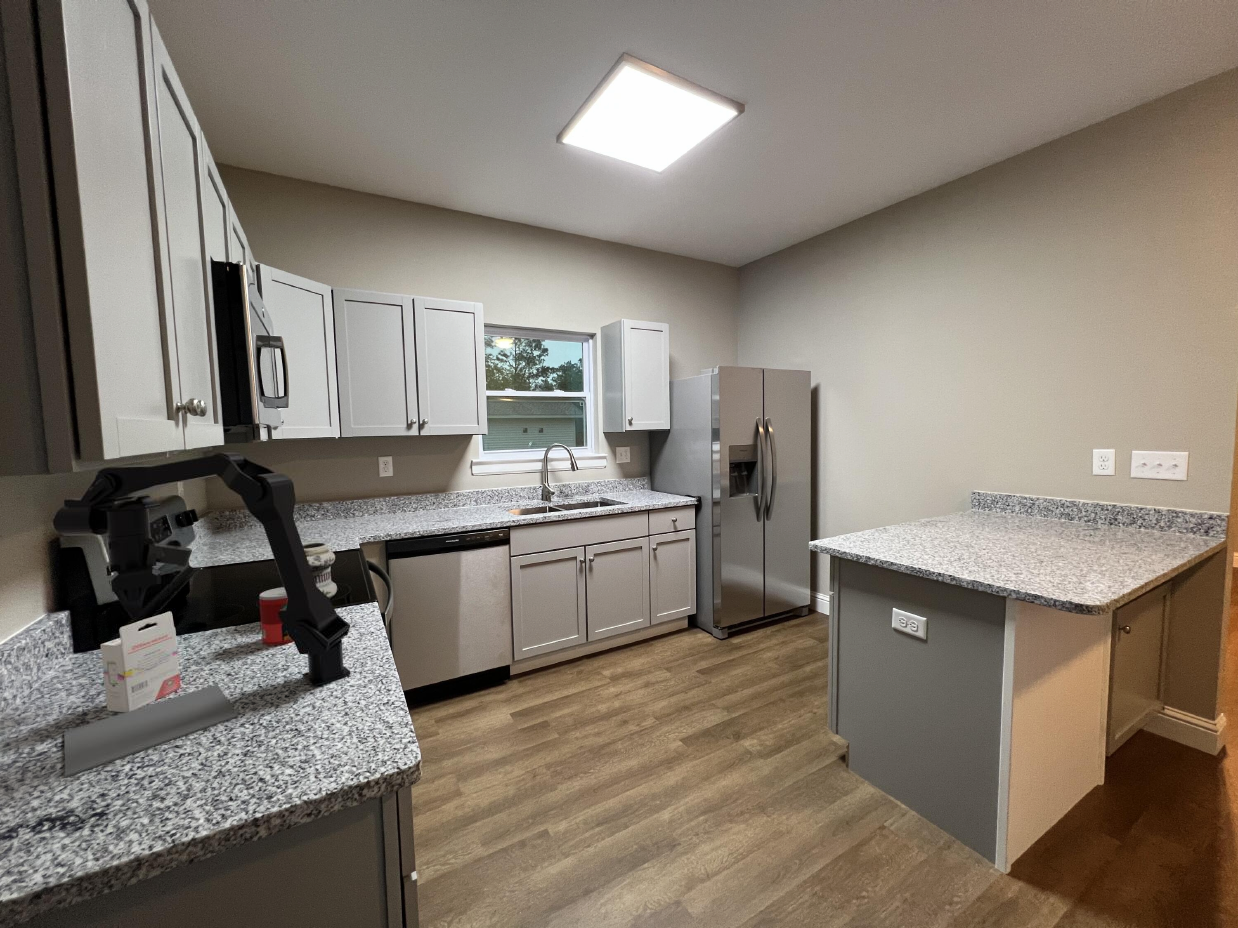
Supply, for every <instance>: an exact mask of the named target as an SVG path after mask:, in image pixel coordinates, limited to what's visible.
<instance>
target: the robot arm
mask: <svg viewBox="0 0 1238 928" xmlns="http://www.w3.org/2000/svg"><path fill="white" fill-rule="evenodd" d="M215 476H217V477H218V478H220V479H221V480H222V481H223V483H224V484H225V486H226V487H227V488H228V489H229V490H231V491H233V492H234V493H235V494H237V495H238V496H240V498H241V500H242V502H243V503H244V506H245V507H246V509H247V511H248V513H250V515H252V516H253V518H255V519H256V520H257V521H258V522H259V523H260V524H261V525H262V526H263V529H264V532H265V535H266V538H267V541H268V544H269V547H270V550H271V552H272V556H273V558H274V562H275V564H276V567H277V570H278V574H279V577H280V579H281V582H282V585H283V586H282V587H284V589H285V591H286V594H287V605H286V607H285V608H284V609H282V610H280V611H279V612H278V616H279V618H280V620H281V622H282V624H283V633H285V632H287V634H288V636H289V638H290V639H291V640H292V641H293V643H294V645H295V647H296V649H297V652H298V653H299V655H306V656H307V662H308V663H307V664H308V672H304V673H302V678H303V679H304V680H305V681H306V682H307V683H308V684H309V685H310V686H311V687H312V688H315V687H318V686H322V685H324V684H327V683H330V682H332V681H335V680H338V679H341V678H343V677H346V676H349V675H351V674H352V673H351V670H349V668H347V667H346V666H344V657H343V656H344V653H343V639H344V638H345V637H347V636H348V635H349V632H350V629H351V624H350V623H349V622H347V621H346V620H345V619H344V618H343V617H342V616H340V615H339V614H338V613H337V611H336V609H335V606H334V605H333V603H332V601H331V600H330V599H329V598H328V597H327V596H326V595H325V594H324V593H323V592H322V591H321V590H320V589H318V588H317V586H316V584H315V581H314V578H313V575H312V572H311V569H310V566H309V563H308V560H307V557H306V554H305V551H304V548H303V545H302V543H303V541H302V540H301V539H302V538H301V535H300V533H299V530H298V527H297V524H296V522H295V518H294V513H295V509H296V508H295V506H296V503H297V502H296V501H297V499H296V498H297V497H296V493H295V491H296V490H295V487H294V482H293V480H292V478H291V477H289V476H287V475H286V474H285V473H280V472H275V470H272V469H271V468H269V467H267V466H265V465H262V464H260V463H259V462H258V463H257V462H255V461H253V460H250V458H249V459H248V458H247V457H246V456H245V455H243V454H241V453H239V452H233V451H232V452H217V453H214V454H211V455H207V456H202V457H197V458H192V459H191V458H190V459H185V460H181V461H174V462H169V463H168V462H167V463H162V464H155V465H154V464H141V465H140V464H136V465H123V466H110V467H109V466H108V467H107V468H106V467H103V468H100V469H99V470H98V471H97V474H96V475H95V478H94V480H93V481H92V483H91V484H90V486H89V487H88V489H87V490H86V492H85V493H84V495H83V496H82V497H73V498H66V499H64V500H63V504H64V505H63V506H62V507H61V508H59V509H58V510H57V512H56V513H55V515H54V518H53V519H52V524H53V528H54V529H55V531H56V532H57V533H58V534H60V535H62V536H65V537H66V536H69V537H70V536H99V535H101V536H102V535H105V534H106V547H107V551H108V552H107V555H108V561H107V562H106V563H105V564H104V565H105V575H106V577H108V576H110V577H109V580H108V583H109V586H110V590H111V592H113V594H114V595H115V596H116V598H117V600H119V602H120V603H121V605H122V606H123V608H124V610H125V611H126V612H127V613H128V615H129V616H130V618H131V619H135V618H139V617H140V616H141V613H142V607H143V603H144V598H145V594H146V591H147V589H148V588H149V587H150V586H151V587H152V586H155V585H160V584H161V583H162V577H161V575H162V574H161V572H160V570H159V569H157V568H155V566H157V565H158V564H157V563H159V564H167V565H176V566H177V567H187V565H188V563H189V560H190V558H191V555H192V553H193V550H192V548H191V547H187V546H182V544H181V543H182V542H181V540H178V539H172V538H170V539H168V540H167V541H166V542H165V543H155V542H156V541H155V539H154V538H153V537H152V535H151V525H150V524H151V523H150V509H159V508H161V506H162V503H160V502H158V500H155V499H154V498H152V497H151V496H150V495H147V494H151V493H154V492H156V491H159V490H161V489H162V488H164V487H167V486H169V485H171V484H177V483H183V482H188V481H193V480H200V479H206V478H209V477H215ZM136 497H137V498H136ZM135 498H136V499H135ZM133 499H134V500H133Z"/></svg>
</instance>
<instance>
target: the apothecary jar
mask: <svg viewBox="0 0 1238 928" xmlns="http://www.w3.org/2000/svg"><path fill="white" fill-rule="evenodd" d="M302 545H303V548H304V551H305V554H306V557H307V560H308V563H309V566H310V569H311V572H312V575H313V578H314V581H315V584H316V586H317V588H318V589H320V590H321V591H322V592H323V593H324V594H325V595H326V596H327V597H328V598H329V600H330V599H331V598H332V597H334V596H335V594H336V593H337V591H338V587H337V584H336V583H335V582H333V580H332V576H331V575H332V573H331V572H332V571H331V566H332V564H334V562H335V560H336V555H335V554H334V552H333V551H331V549H329V546H328V544H327V542H323V541H313V542H311V541H310V542H304V543H303V542H302Z"/></svg>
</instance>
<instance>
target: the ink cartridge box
mask: <svg viewBox="0 0 1238 928" xmlns="http://www.w3.org/2000/svg"><path fill="white" fill-rule="evenodd" d="M152 624H156V625H153V626H151V627H148V628H144V627H145V626H146V625H152ZM141 628H144V629H141ZM139 629H141V630H140V631H139ZM118 630H119V632H118V633H119V638H116V639H115V638H114V639H113V640H110V641H107V642H104V643H101V644H100V653H101V654H100V655H101V663H102V672H103V681H104V691H105V700H106V708H107V711H109V712H116V713H126V712H129V711H132V710H135V709H139V708H142V707H145V706H147V705H148V704H150V703H153V702H154V701H156V700H159V699H160V698H162V697H165V696H167V695H169V694H171V693H173V692H176V691H178V690H179V689H181V687H182V686H181V675H180V668H179V666H180V664H179V663H180V662H179V654H178V644H177V635H176V634H177V632H176V627H175V624H174V619H173V613H172V611H167V612H165V613H162V614H158V615H155V616H152V617H147V618H144V619H142V620H139V621H136V622H133V623H131V624H127V625H124V626H121V627H120V628H119V629H118Z"/></svg>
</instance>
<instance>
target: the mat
mask: <svg viewBox="0 0 1238 928" xmlns="http://www.w3.org/2000/svg"><path fill="white" fill-rule="evenodd" d="M238 717H239V714H238V713H237V712H236V710H235V708H234V707H233V705H232V704H231V702H230V701H229V700H228V698H227V697H226V695H225V693H224V692H223V690H222V689H221V688H220V686H219V684H214V685H211V686H207V687H204V688H201V689H198V690H194V691H192V692H191V691H190V692H188V693H185V694H182V695H178V696H175V697H172V698H169V699H165V700H161V701H158V702H156V703H152V704H149V705H148V704H147V705H144V706H142V707H140V708H138V709H135V710H132V711H129V712H121V713H119V714H117V715H113V716H110V717H106V718H103V719H99V720H97V721H93V722H90V723H86V724H83V725H81V726H77V727H74V728H70V729H67V730H65V731H64V778H69V777H71V776H75V775H77V774H80V773H83V772H86V771H89V770H91V769H94V768H98V767H101V766H103V765H106V764H108V763H111V762H115V761H117V760H120V759H123V758H126V757H129V756H131V755H134V754H137V753H139V752H142V751H145V750H148V749H150V748H154V747H158V746H160V745H163V744H165V743H168V742H171V741H173V740H174V741H175V740H176V739H180V738H183V737H185V736H188V735H191V734H194V733H196V732H199V731H201V730H204V729H208V728H210V727H213V726H216V725H218V724H219V725H220V724H222V723H224V722H228V721H230V720H233V719H237V718H238Z"/></svg>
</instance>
